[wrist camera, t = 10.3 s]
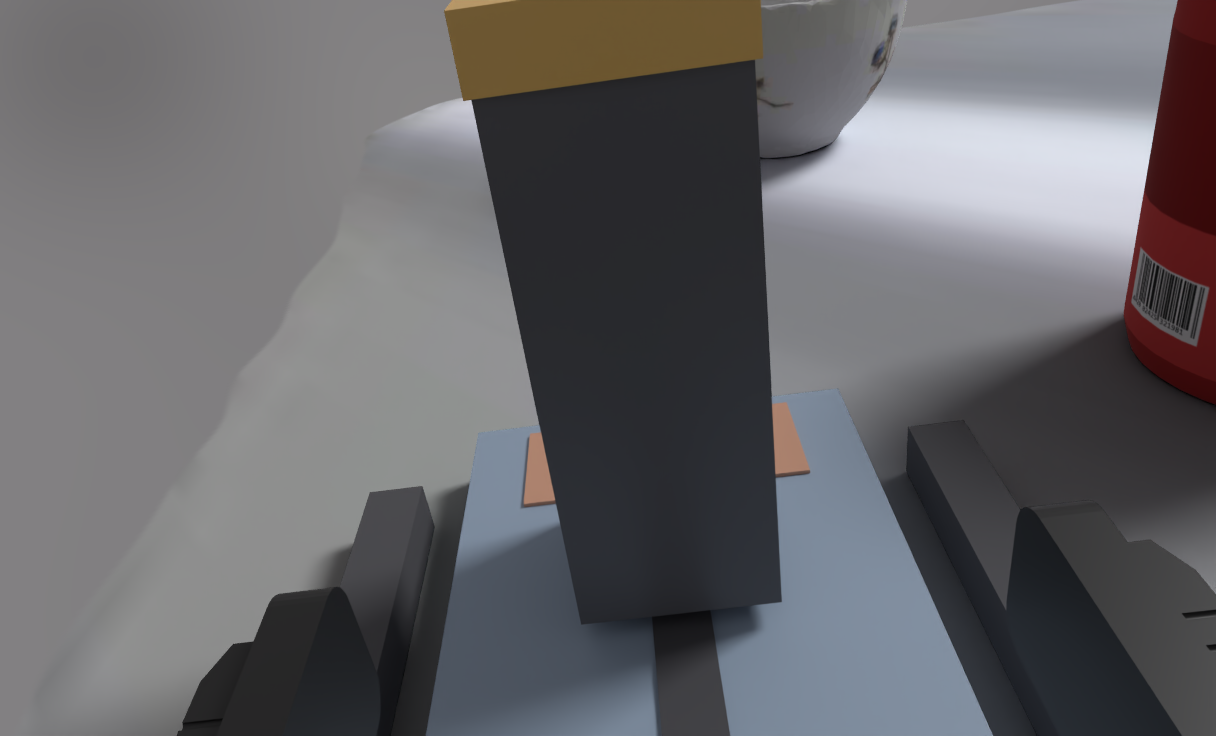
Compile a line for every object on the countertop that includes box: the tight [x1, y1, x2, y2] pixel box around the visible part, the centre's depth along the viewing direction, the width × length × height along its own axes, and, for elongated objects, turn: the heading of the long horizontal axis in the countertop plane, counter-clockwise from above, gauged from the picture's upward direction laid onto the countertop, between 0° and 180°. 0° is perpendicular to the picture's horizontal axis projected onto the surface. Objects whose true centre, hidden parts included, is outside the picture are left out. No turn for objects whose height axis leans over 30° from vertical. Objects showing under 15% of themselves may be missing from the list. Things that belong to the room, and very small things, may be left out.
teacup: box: [755, 0, 907, 158], centre depth 47 cm, size 15×12×8 cm
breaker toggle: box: [444, 0, 782, 625], centre depth 17 cm, size 4×4×12 cm
